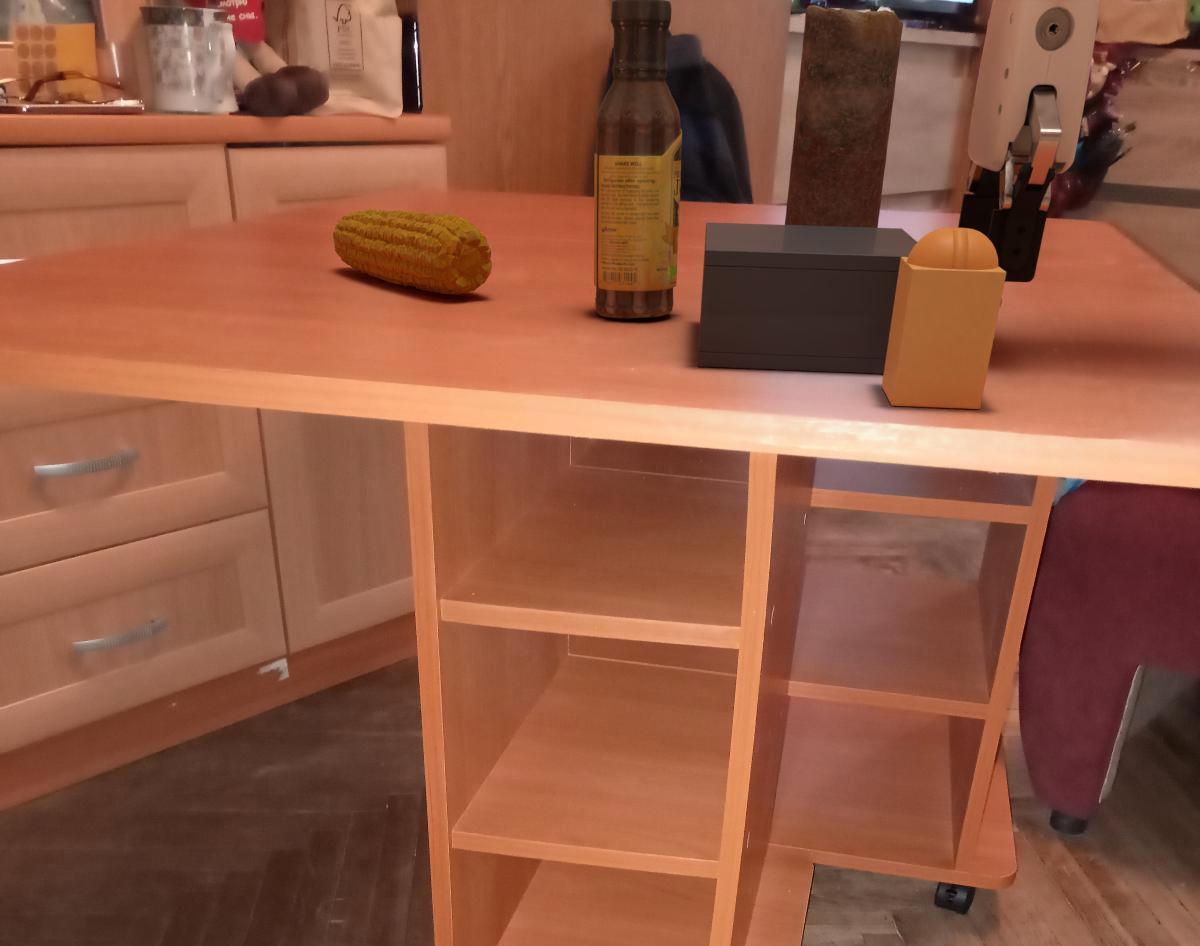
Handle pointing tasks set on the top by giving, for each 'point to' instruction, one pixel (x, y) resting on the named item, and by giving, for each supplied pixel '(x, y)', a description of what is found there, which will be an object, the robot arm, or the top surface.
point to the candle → (843, 117)
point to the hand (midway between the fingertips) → (990, 269)
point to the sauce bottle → (637, 169)
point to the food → (415, 249)
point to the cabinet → (799, 296)
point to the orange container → (943, 321)
